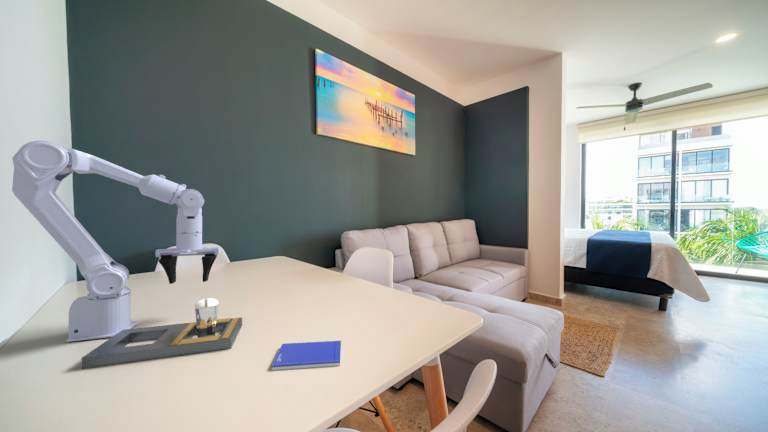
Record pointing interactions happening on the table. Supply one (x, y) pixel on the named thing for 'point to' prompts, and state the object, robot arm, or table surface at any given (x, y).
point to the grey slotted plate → (162, 343)
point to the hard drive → (308, 355)
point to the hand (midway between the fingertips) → (189, 281)
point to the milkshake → (206, 316)
